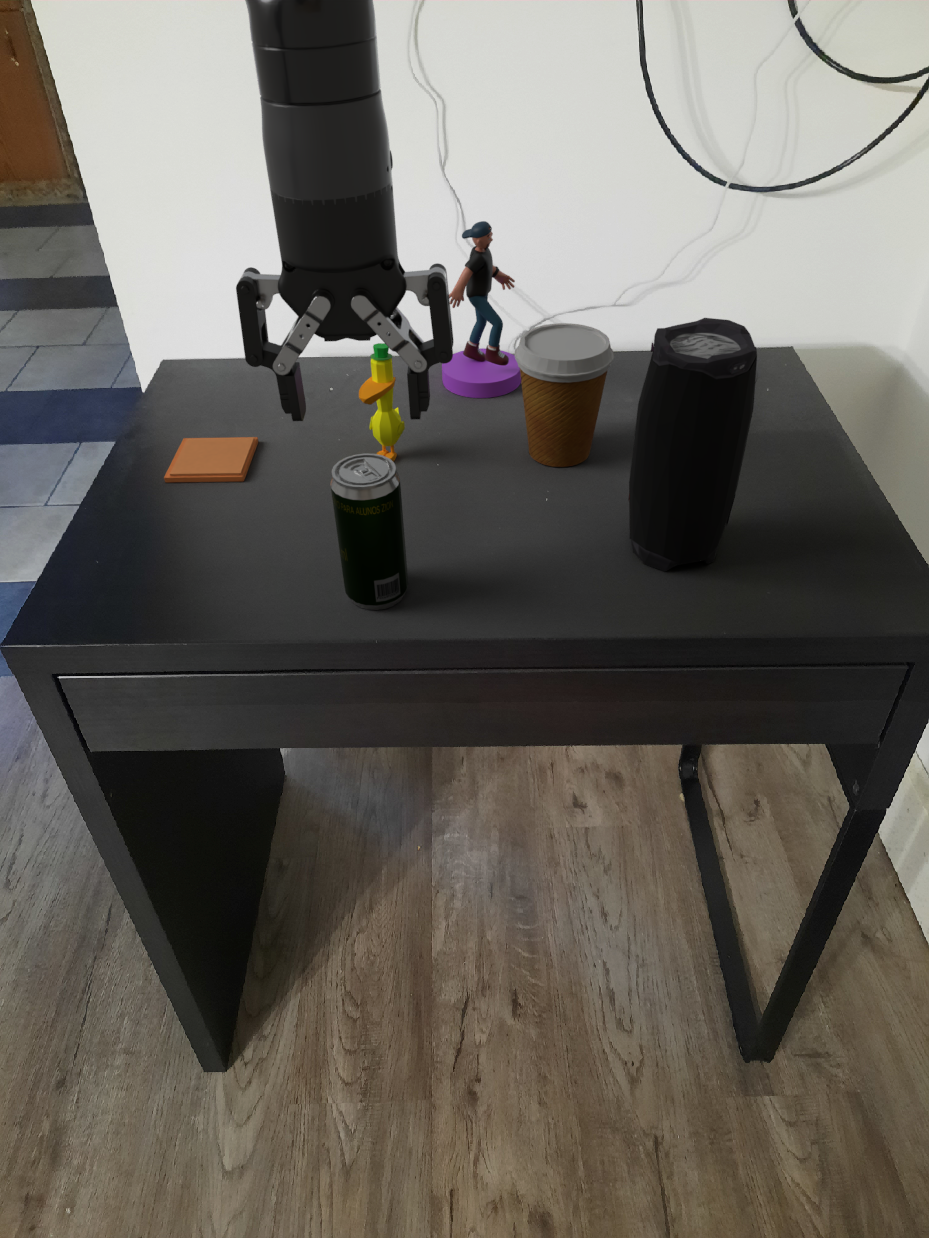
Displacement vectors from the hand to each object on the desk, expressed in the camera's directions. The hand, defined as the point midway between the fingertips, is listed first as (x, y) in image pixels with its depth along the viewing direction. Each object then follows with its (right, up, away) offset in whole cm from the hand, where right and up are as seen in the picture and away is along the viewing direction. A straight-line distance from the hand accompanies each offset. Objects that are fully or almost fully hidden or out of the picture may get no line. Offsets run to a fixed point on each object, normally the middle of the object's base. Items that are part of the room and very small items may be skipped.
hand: (358, 415), depth 66 cm
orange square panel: (-18, +2, +28) cm, 34 cm away
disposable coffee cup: (+18, +2, +28) cm, 33 cm away
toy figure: (0, +2, +28) cm, 28 cm away
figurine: (+10, +13, +41) cm, 44 cm away
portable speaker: (+26, -9, +15) cm, 32 cm away
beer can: (0, -13, +11) cm, 17 cm away
